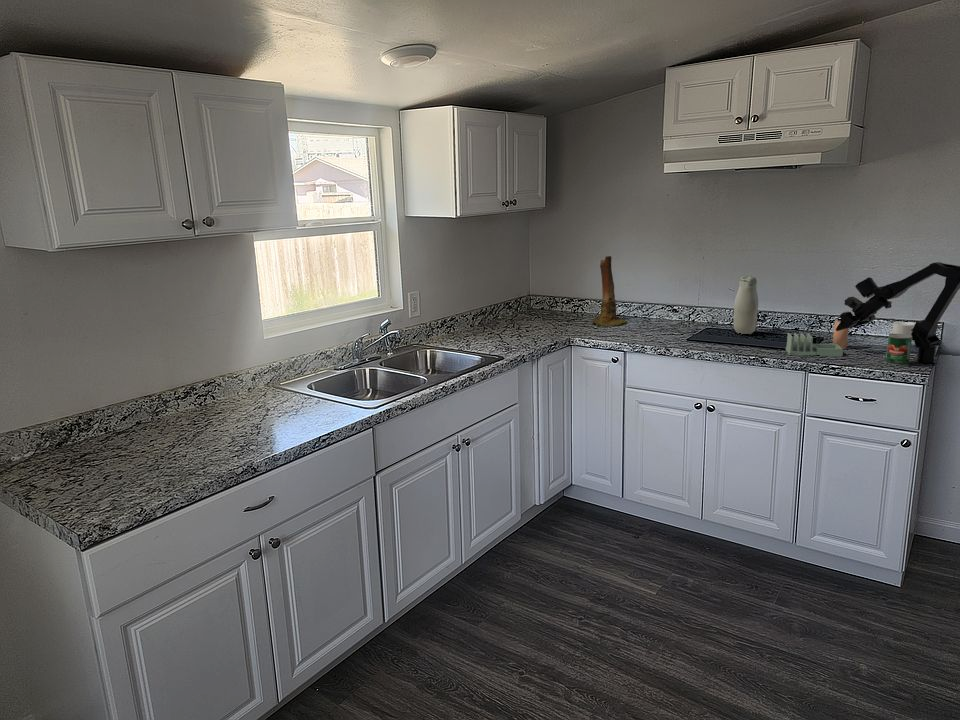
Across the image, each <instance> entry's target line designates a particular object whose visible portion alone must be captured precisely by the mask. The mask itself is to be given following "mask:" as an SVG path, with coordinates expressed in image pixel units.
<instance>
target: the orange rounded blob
mask: <svg viewBox="0 0 960 720" xmlns="http://www.w3.org/2000/svg"><path fill="white" fill-rule="evenodd" d="M840 322H841V320H840V321H839V320H838V321H837V320H836V321H834V326H833V327H834V328H833V337H832V344H837V345H839V346H840V347H841V348H842V349H843V350H845V348H846V349H847V348H848V340H849V339H848V338H849V332H850V331H849V329H850V328H846V329H843V330H840V331H836V328H837V326H838V325H839V323H840Z"/></svg>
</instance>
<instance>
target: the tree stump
mask: <svg viewBox="0 0 960 720" xmlns="http://www.w3.org/2000/svg"><path fill="white" fill-rule="evenodd" d="M599 268H600V274H601V285H602V286H601V287H602V289H601V290H602V291H601V293H602V300H601V301H602V302H601V304H600V315H599V316H597V317H595V318H593V319H592V324H595V326H598V327H614V326H622V325H624V324H628V320H626V319H622V318H620V317H619V316H617V315H618V313H617V302H616V301H617V300H616V296H615V283H614V279H613V277H614V276H613V272H612V256H611V255H610V256H609V255H608V256H607V255H606V256H605V258H604V259H600V264H599Z"/></svg>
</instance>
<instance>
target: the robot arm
mask: <svg viewBox="0 0 960 720" xmlns="http://www.w3.org/2000/svg"><path fill="white" fill-rule="evenodd" d="M934 275H938V276H941V277H944V278H945V280H944V287H943V288H942V291H940V293H939V295H938V297H937V299H936V300H935V302H934V303H933V305H932V307H931V309H930V310H929V312H927V315H926V316H925V318H924V319H921V320H918V321H916V322H915V323H914V324H915V326H914V328H913V329H912V330H911V331H912V333H911V336H912V341H913V342H914V345H915V347H916V348H917V353H916V354H917V356H916V358H915V357H913V361H915V362H917V363H918V364H932V365H933V364H935V365H936V364H938V361H936V360H935V356H936V350H937V347H938V346H940V344H941V342H942V341H941V339H940V338H939V337H938V335H936V333H937V331H938V325H939V322H940V320H941V318H942V316H943V315H944V314H945V312H946V311H947V308H949V306H950V304H951V302H952V300H953V299H954V297H955V296H956V295H957V293H958V292H959V290H960V265H956V264H949V263H944V262H940V261H936V262H932V263H930V264H928V265H927V266H925V267H923V268H922V269H920V270H918V271H916V272H915V273H912V274H911V275H908V276H907V277H904V278H903V279H901V280H897V281H894V282H892V283H888V284H886V285H883V286H878V284H876V282H875V281H874V279H873V277H871V276H869V277H866V278H865V279H863V280H862V281H860V282H858V283H857V284H855V286H854V287H855V289H856V290H857V292H859V294H860V295H861V296H862V298H867V299H868V300H866V301H865V302H863V301H861V300H860V299H859V298H857V297H855V296H848V297H847V298H846V299H844V303H843V304H844V306H847V307H849V308H850V309H851V311H852V312H851V311H844V312H842V313H841V314H839V318H840V319H841V320H840V321H841V322H840V323H839V325H838V326H837V328H836V331H840V330H843V329H846V328H849V329H852V328H856V327H859V326H862V325H867V324H869V323H872V322H874V321H875V320H876V316H875V315H876V314H877V313H878V311H880V310H881V309H882V308H884V309H886V310H887V309H890V308H891V309H892V303H893V302H892V301H889V300H893V299H897V298H900V297H901V296H902V295H904V294H905V293H906V292H907V291H908V290H909V289H910V288H912V287H914V286H916V285H917V284H919V283H921V282H923V281H925V280H927V279H929V278H931V277H933V276H934Z"/></svg>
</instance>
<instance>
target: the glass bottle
mask: <svg viewBox="0 0 960 720" xmlns="http://www.w3.org/2000/svg"><path fill="white" fill-rule="evenodd" d="M757 281H758V280H757V278H756V277H755V276H753V275H750V274H749V275H743V276H741V278H740V280H739V282H738V283H739V286H738V288H737V290H738V291H737V293H736V295H735V298H734V306H733V307H734V308H733V321H732V322H733V329H734V331H735V332H736V333H737V334H739V333H741V334H740V335H742V334H749V335H752V334H753V333H754V332H755V331H756V328H757V323H758V310H759V295H758V292H757V291H758V289H757Z"/></svg>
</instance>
